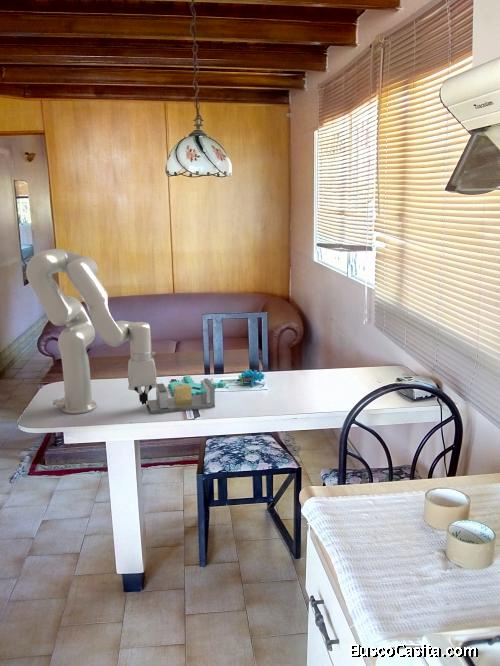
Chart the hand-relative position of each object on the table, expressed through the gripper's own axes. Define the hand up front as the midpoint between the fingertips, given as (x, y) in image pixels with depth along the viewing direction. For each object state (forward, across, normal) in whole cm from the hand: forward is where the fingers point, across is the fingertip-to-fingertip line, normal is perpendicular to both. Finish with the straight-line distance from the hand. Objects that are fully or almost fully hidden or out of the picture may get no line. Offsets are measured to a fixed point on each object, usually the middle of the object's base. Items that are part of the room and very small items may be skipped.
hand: (143, 403), depth 208 cm
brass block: (+1, -15, 0) cm, 15 cm away
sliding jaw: (+1, -7, 0) cm, 7 cm away
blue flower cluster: (+3, -47, -15) cm, 50 cm away
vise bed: (+3, -14, 0) cm, 14 cm away
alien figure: (+4, -22, -17) cm, 28 cm away
